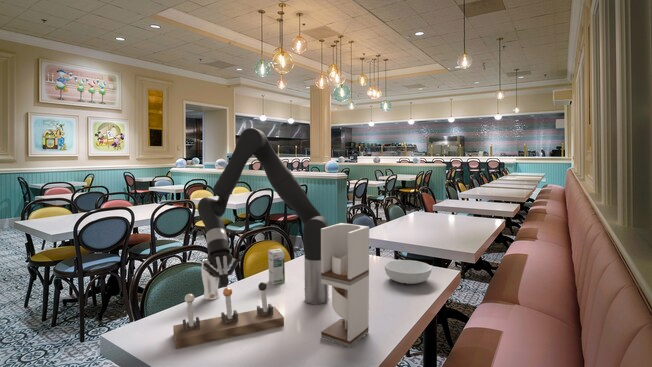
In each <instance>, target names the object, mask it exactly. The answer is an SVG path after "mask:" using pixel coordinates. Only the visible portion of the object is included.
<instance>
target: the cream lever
mask: <svg viewBox="0 0 652 367" xmlns="http://www.w3.org/2000/svg"><path fill="white" fill-rule="evenodd" d="M194 301H195V295H194V294H193V293H187V294H186V295H185V296H184V302H185V303H186V304H187V318H188V321H186V323H187V329H190V328H196V322H195V321H196V319H194V308H193V307H194V306H193V302H194Z"/></svg>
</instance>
